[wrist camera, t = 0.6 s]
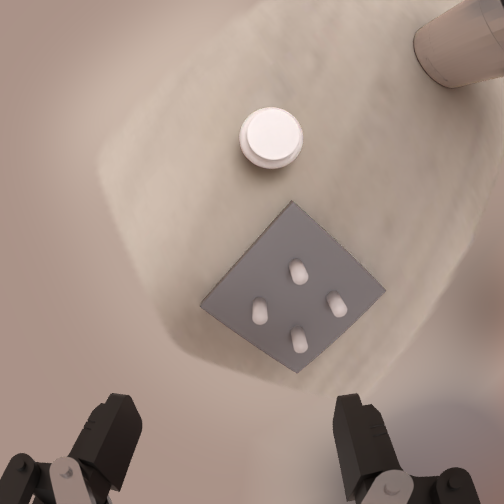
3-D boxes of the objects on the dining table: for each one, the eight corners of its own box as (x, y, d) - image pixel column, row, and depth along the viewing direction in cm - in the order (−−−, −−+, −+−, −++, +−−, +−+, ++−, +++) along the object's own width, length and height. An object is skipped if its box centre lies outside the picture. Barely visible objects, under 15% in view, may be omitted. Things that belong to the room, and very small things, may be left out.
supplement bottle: (254, 175, 31) (254, 181, 21) (233, 130, 29) (224, 116, 20) (300, 156, 30) (321, 154, 21) (280, 111, 28) (291, 89, 19)
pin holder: (291, 200, 31) (297, 206, 27) (382, 286, 34) (397, 303, 30) (201, 301, 35) (194, 321, 30) (296, 368, 38) (300, 390, 34)
